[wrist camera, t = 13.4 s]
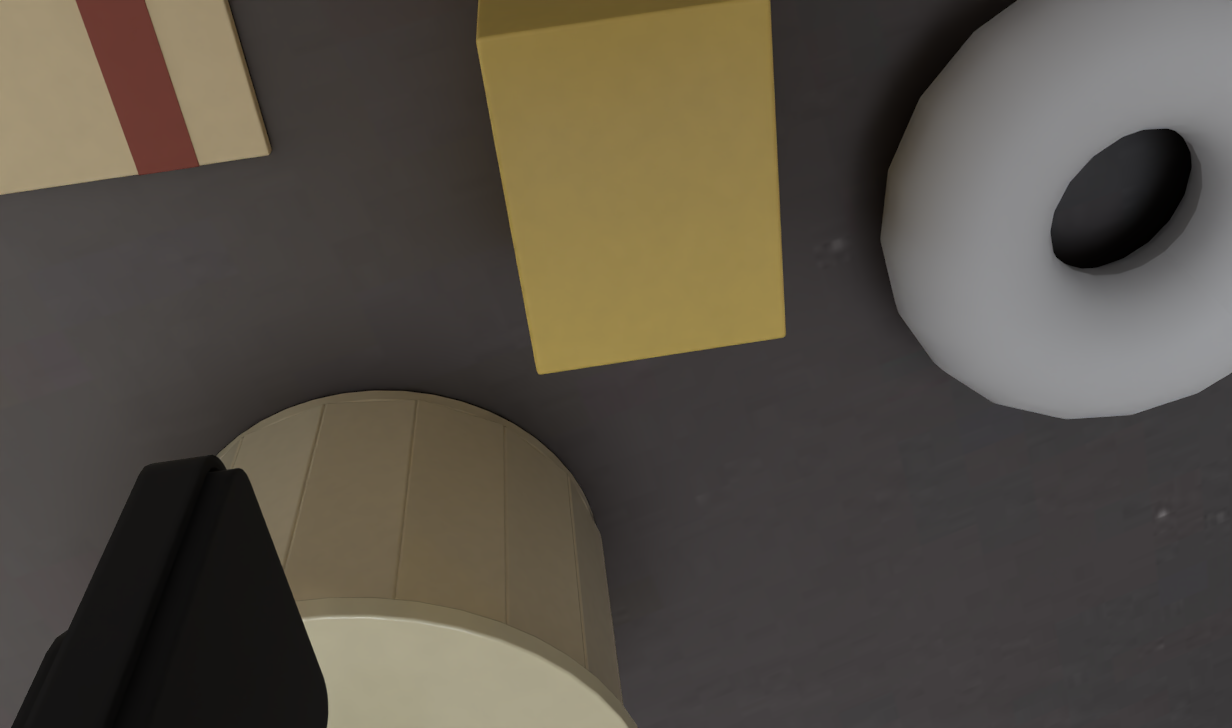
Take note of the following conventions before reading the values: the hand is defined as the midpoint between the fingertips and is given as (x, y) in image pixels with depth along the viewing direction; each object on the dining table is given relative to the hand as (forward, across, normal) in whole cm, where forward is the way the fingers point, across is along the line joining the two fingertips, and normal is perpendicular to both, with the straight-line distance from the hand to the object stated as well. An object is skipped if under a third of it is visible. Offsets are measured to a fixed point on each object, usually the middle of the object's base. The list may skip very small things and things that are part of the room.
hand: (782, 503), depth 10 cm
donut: (+14, -10, +4) cm, 18 cm away
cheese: (+14, 0, +1) cm, 14 cm away
